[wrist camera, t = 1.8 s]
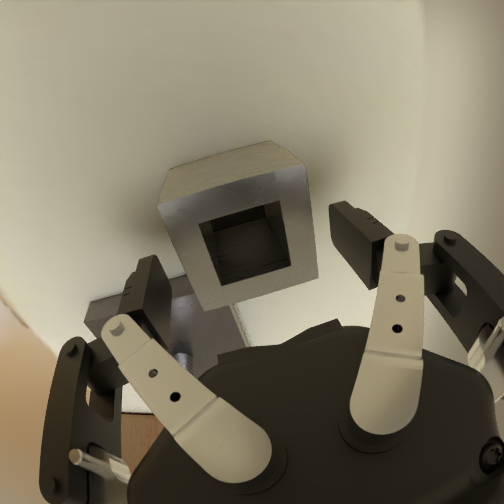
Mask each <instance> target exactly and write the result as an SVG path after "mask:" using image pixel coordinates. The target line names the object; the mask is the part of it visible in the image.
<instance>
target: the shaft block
mask: <svg viewBox="0 0 504 504" xmlns="http://www.w3.org/2000/svg"><path fill="white" fill-rule="evenodd" d="M169 282H170V285H171V288H172V305H171V321H170V342H169V349H166V350H165V351H167V352H168V353H169V354H170V355H171V356H172V357H173V358H174V359H175V360H176V361H177V362H178V363H179V364H180V365H181V366H182V367H184V368H185V369H186V370H187V371H188V372H189V373H190V374H191V375H192V376H194V377H195V378H196V379H198V378H199V377H200V376H201V375H202V374H203V373H204V372H206V371H207V370H208V369H210V368H212V367H213V366H215V365H217V364H218V358H217V355H218V354H222V353H226V352H230V351H234V350H238V349H241V348H245V347H250V346H249V344H248V341H247V339H246V336H245V334H244V331H243V329H242V326H241V323H240V321H239V318H238V316H237V313H236V311H235V308H234V305H233V304H231V305H227V306H223V307H220V308H216V309H212V310H209V311H205V312H204V310H203V308H202V306H201V304H200V302H199V300H198V298H197V296H196V293H195V291H194V289H193V287H192V285H191V283H190V281H189V279H188V276H187V275H185V276H181V277H178V278H174V279H171V280H169ZM122 294H123V293H122ZM122 294H119V295H115V296H112V297H108V298H105V299H101V300H98V301H94V302H91V303H90V305H89V308H88V311H87V314H86V316H85V319H84V323H85V325H86V326H87V327H88V328H89V329H90V331H91V332H92V333H93V334H94V335H95V337H96V338H97V339H98V338H100V337H101V331H102V328H103V327H104V325H105V324H106V322H107V321H109V320H110V319H111V318H113V317H114V316H117V312H118V309H119V305H120V301H121V298H122V296H123V295H122Z"/></svg>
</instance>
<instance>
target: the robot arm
mask: <svg viewBox="0 0 504 504" xmlns="http://www.w3.org/2000/svg"><path fill="white" fill-rule="evenodd" d="M329 219H330V231H331V238H332V242H333V244H334V246H335V247H336V249H337V250H338V251H339V252H340V254H341V255H342V256H343V257H344V259H345V260H346V261H347V262H348V264H349V265H350V266H351V267H352V269H353V270H354V271H355V272H356V274H357V275H358V276H359V278H360V279H361V280H362V281H363V283H364V284H365V285H366V287H367V288H368V289H369V290H371V289H374V288H376V287H378V289H377V295H376V301H375V306H374V311H373V316H372V321H371V326H370V328H367V327H361V326H341V324H340V322H339V320H338V319H334V320H332V321H329V322H326V323H323V324H320V325H317V326H314V327H311V328H309V329H307V330H305V331H303V332H302V333H300V334H298V335H296V336H295V337H293V338H291V339H289V340H288V341H286V342H284V343H282V344H279V345H269V346H255V347H245V348H241V349H238V350H234V351H230V352H226V353H222V354H218V355H217V358H218V364H217V365H215V366H213V367H212V368H210V369H208V370H207V371H206V372H204V373H203V374H202V375H201V376H200V377H199V378H198V379H196V378H195V377H194V376H192V375H191V374H190V373H189V372H188V371H187V370H186V369H185V368H184V367H182V366H181V365H180V364H179V363H178V362H177V361H176V360H175V359H174V358H173V357H172V356H171V355H170V354H169V353H168V352H167V351H165V350H166V349H169V342H170V321H171V305H172V288H171V285H170V282H169V280H168V278H167V276H166V274H165V272H164V270H163V268H162V265H161V263H160V261H159V259H158V257H157V256H156V255H151V256H148V257H145V258H142V259H139V262H138V265H137V269H136V272H133V273H132V274H131V275H130V276H129V278H128V279H127V281H126V284H125V287H124V291H123V294H122V295H123V296H122V298H121V301H120V305H119V309H118V312H117V316H114V317H113V318H111V319H110V320H109V321H107V322H106V324H105V325H104V327H103V328H102V331H101V337H100V338H98V339H96V340H94V341H92V342H90V343H88V344H87V343H86V341H85V340H84V339H83V338H82V337H74V338H71V339H70V340H68V341H67V342H66V343H65V344H64V345H63V347H62V348H61V351H60V354H59V357H58V361H57V365H56V368H55V373H54V377H53V381H52V385H51V390H50V394H49V399H48V405H47V410H46V416H45V422H44V429H43V437H42V445H41V456H40V473H39V486H40V491H41V494H42V495H43V497H44V499H45V500H46V501H47V502H49V503H50V504H504V442H503V441H502V439H501V437H500V435H499V431H498V427H497V422H496V417H495V402H497V401H498V400H499V399H504V275H503V274H502V273H501V272H500V271H499V270H498V269H497V268H496V267H495V266H494V265H493V264H492V263H491V262H490V261H489V260H488V259H487V258H486V257H485V256H484V255H482V253H480V252H479V251H478V250H477V249H476V248H475V247H474V246H473V245H471V244H470V243H469V242H468V241H467V240H466V239H464V238H463V237H462V236H461V235H460V234H458V233H456V232H454V231H450V230H441V231H438V232H437V233H436V234H435V237H434V242H433V243H423V244H418V242H417V241H416V239H414V238H413V237H411V236H409V235H406V234H394V233H392V232H391V231H390V230H389V229H388V228H387V227H385V226H384V225H383V224H382V223H381V222H379V221H378V220H377V219H376V218H374V217H373V216H372V215H371V214H370V213H368V212H367V211H364V210H362V209H359V208H356V209H355V208H354V207H353V206H351V205H350V204H349V203H348V202H346V201H341V202H337V203H333V204H330V205H329ZM456 276H458V277H459V278H460V279H461V281H462V282H463V283H464V284H465V286H466V289H467V296H466V295H465V294H464V293H463V291H462V290H461V289H460V288H459V287H458V286H457V285H456V283H455V280H456ZM424 295H426V296H427V297H428V298H429V300H430V301H431V302H432V304H433V305H434V306H435V308H436V309H437V310H438V311H439V313H440V314H441V316H442V317H443V318H444V320H445V321H446V322H447V324H448V325H449V326H450V328H451V329H452V330H453V332H454V333H455V335H456V336H457V338H458V339H459V341H460V342H461V344H462V345H463V347H464V348H465V350H466V351H467V352H468V363H469V366H467V365H464V364H462V363H459V362H456V361H454V360H451V359H448V358H446V357H443V356H440V355H438V354H435V353H433V352H430V351H427V350H425V349H422V345H423V329H424ZM127 383H130V384H131V385H132V387H133V388H134V390H135V391H136V392H137V393H138V395H139V396H140V397H141V399H142V400H143V401H144V402H145V404H146V405H147V406H148V407H149V409H150V410H151V411H152V412H153V414H154V415H155V416H156V417H157V418H158V419H159V421H160V422H161V423H162V424H163V425H164V428H163V429H162V431H161V432H160V434H159V435H158V437H157V438H156V440H155V441H154V442H153V444H152V445H151V447H150V448H149V450H148V451H147V453H146V454H145V456H144V457H143V458H142V460H141V461H140V463H139V464H138V466H137V467H136V469H135V470H134V471H133V473H132V474H130V471H129V468H128V466H127V464H126V463H125V462H124V461H123V460H122V455H121V407H122V386H123V385H125V384H127ZM87 386H88V387H89V388H90V389H91V392H90V401H89V406H88V404H87V402H86V389H87Z"/></svg>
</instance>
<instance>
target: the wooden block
mask: <svg viewBox="0 0 504 504" xmlns="http://www.w3.org/2000/svg"><path fill="white" fill-rule="evenodd" d="M163 428H164V425H163V424H162V423H161V422H160V421H159V419H158V418H157V417H156V416H155V415H130V414H121V455H122V460H123V461H124V462H125V463H126V464H127V466H128V468H129V471H130V474H132V473H133V471H134V470H135V469H136V467H137V466H138V464H139V463H140V461H141V460H142V458H143V457H144V456H145V454H146V453H147V451H148V450H149V448H150V447H151V445H152V444H153V442H154V441H155V440H156V438H157V437H158V435H159V434H160V432H161V431H162V429H163Z"/></svg>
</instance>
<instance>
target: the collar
mask: <svg viewBox="0 0 504 504" xmlns="http://www.w3.org/2000/svg"><path fill="white" fill-rule="evenodd" d="M261 205H263V206H264V211H265V215H266V217H264V218H261V219H257V220H254V221H250V222H247V223H243V224H240V225H236V226H233V227H229V228H226V229H223V230H219V231H216V232H213V229H212V226H211V223H210V220H212V219H215V218H219V217H222V216H226V215H229V214H232V213H236V212H239V211H243V210H246V209H250V208H253V207H257V206H261ZM157 207H158V209H159V212H160V214H161V217H162V219H163V222H164V224H165V226H166V229H167V231H168V234H169V236H170V238H171V241H172V243H173V245H174V248H175V250H176V252H177V254H178V257H179V259H180V261H181V263H182V265H183V268H184V270H185V272H186V274H187V276H188V279H189V281H190V283H191V285H192V287H193V289H194V291H195V293H196V296H197V298H198V300H199V302H200V304H201V306H202V308H203V310H204V312H205V311H209V310H212V309H216V308H220V307H223V306H227V305H231V304H234V303H238V302H241V301H245V300H248V299H252V298H255V297H258V296H262V295H265V294H269V293H272V292H275V291H279V290H282V289H285V288H288V287H292V286H295V285H298V284H301V283H304V282H307V281H311V280H314V279H317V278H318V267H317V256H316V246H315V236H314V227H313V219H312V210H311V202H310V195H309V187H308V180H307V173H306V167H305V163H303V162H302V161H301V160H299V159H298V158H296V157H295V156H293V155H292V154H291V153H289V152H288V151H286V150H285V149H283V148H282V147H280V146H279V145H277V144H276V143H274V142H273V141H268V142H263V143H259V144H255V145H251V146H247V147H243V148H239V149H236V150H232V151H228V152H224V153H221V154H217V155H214V156H210V157H207V158H204V159H200V160H197V161H194V162H191V163H188V164H185V165H181V166H178V167H175V168H172V169H169V172H168V175H167V178H166V180H165V183H164V186H163V189H162V192H161V195H160V198H159V201H158V204H157Z"/></svg>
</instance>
